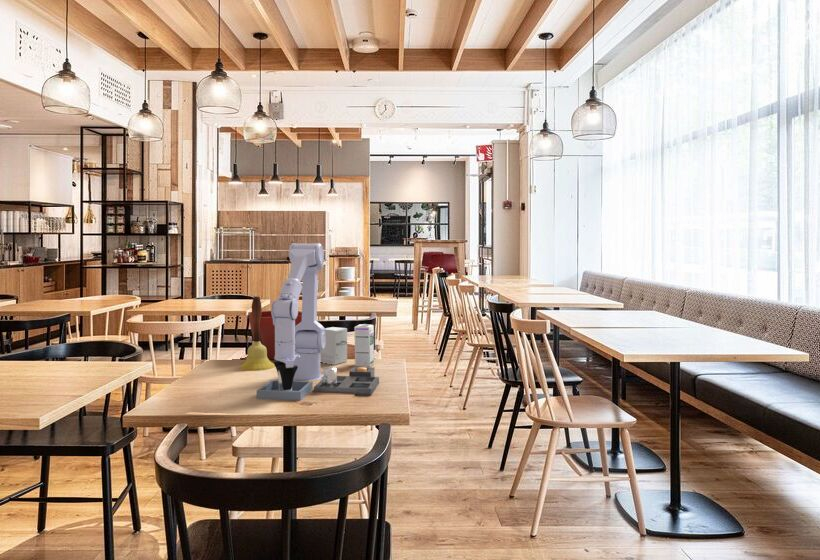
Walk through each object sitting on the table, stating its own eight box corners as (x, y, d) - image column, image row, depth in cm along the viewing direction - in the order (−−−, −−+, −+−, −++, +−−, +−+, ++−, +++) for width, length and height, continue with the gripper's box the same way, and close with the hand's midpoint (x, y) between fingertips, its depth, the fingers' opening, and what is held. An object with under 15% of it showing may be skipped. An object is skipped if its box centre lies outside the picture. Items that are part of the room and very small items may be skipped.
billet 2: (322, 392, 179) (321, 369, 179) (325, 389, 183) (325, 366, 183) (335, 393, 179) (335, 369, 178) (338, 389, 183) (338, 366, 182)
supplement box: (335, 365, 217) (335, 330, 216) (319, 363, 221) (319, 328, 220) (347, 361, 224) (347, 328, 223) (332, 359, 228) (332, 326, 227)
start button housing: (349, 380, 194) (349, 371, 194) (353, 375, 201) (353, 367, 201) (370, 381, 193) (370, 372, 193) (374, 376, 200) (374, 367, 200)
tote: (256, 401, 170) (256, 390, 169) (271, 389, 182) (271, 380, 182) (300, 402, 168) (300, 391, 168) (312, 391, 181) (312, 381, 181)
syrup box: (370, 367, 215) (370, 326, 214) (354, 366, 216) (354, 326, 215) (374, 363, 220) (374, 324, 219) (358, 363, 222) (358, 323, 221)
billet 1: (276, 395, 173) (276, 371, 173) (281, 391, 177) (280, 368, 177) (290, 395, 173) (290, 371, 172) (294, 392, 177) (294, 368, 176)
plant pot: (248, 353, 238) (247, 311, 237) (296, 350, 245) (296, 309, 244) (256, 363, 220) (255, 317, 219) (307, 359, 228) (307, 315, 227)
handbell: (278, 363, 220) (277, 295, 219) (271, 370, 208) (270, 298, 206) (244, 363, 220) (243, 295, 218) (235, 370, 208) (234, 298, 206)
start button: (356, 378, 196) (356, 369, 195) (358, 375, 199) (358, 366, 199) (366, 378, 195) (365, 369, 195) (367, 376, 198) (367, 367, 198)
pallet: (314, 393, 178) (314, 386, 178) (326, 381, 193) (326, 375, 193) (371, 395, 176) (371, 388, 176) (379, 383, 191) (379, 377, 191)
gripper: (304, 344, 169) (304, 392, 170) (294, 336, 182) (294, 380, 183) (278, 345, 166) (279, 394, 167) (270, 337, 180) (271, 382, 181)
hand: (285, 387), depth 175 cm, fingers open, 5 cm apart
